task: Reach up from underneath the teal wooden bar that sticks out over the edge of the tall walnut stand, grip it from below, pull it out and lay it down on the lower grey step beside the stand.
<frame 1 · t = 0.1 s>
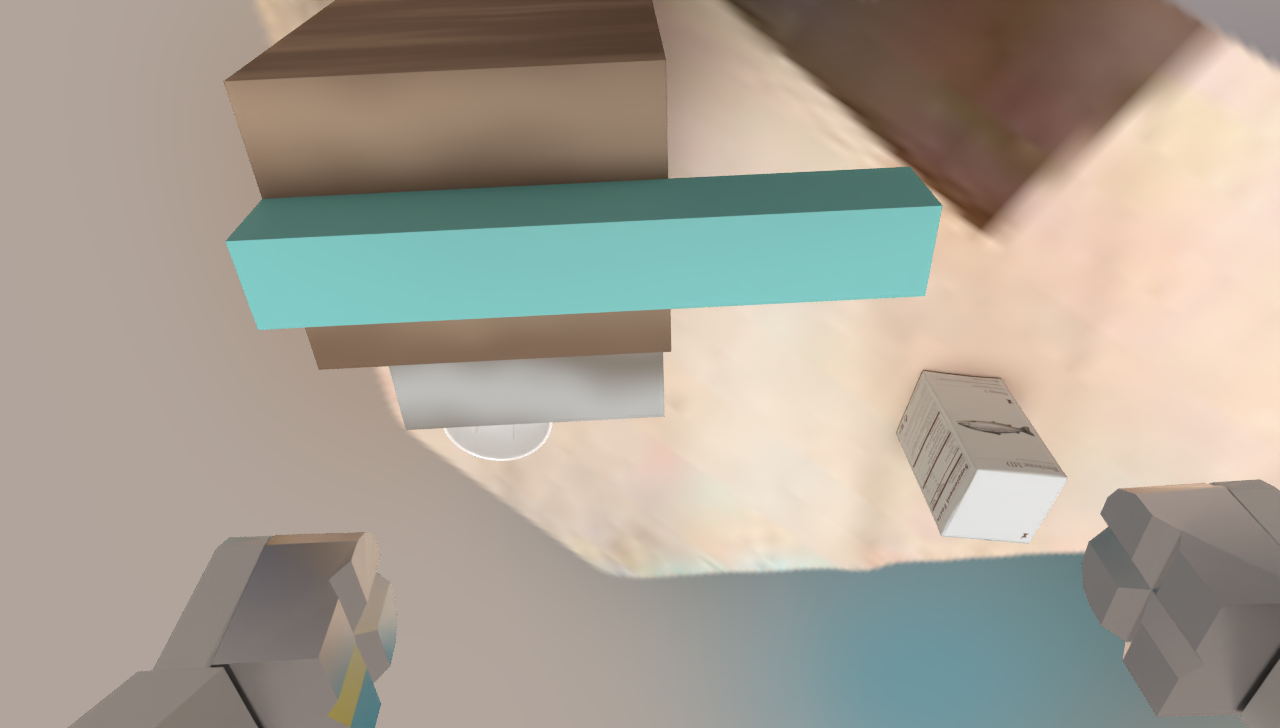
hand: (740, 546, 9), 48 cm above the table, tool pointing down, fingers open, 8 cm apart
supplement box: (945, 404, 70), on the table
teal bar: (590, 226, 31), point 26 cm above the table, touching stand
white cup: (510, 340, 65), on the table
stand: (527, 56, 52), on the table
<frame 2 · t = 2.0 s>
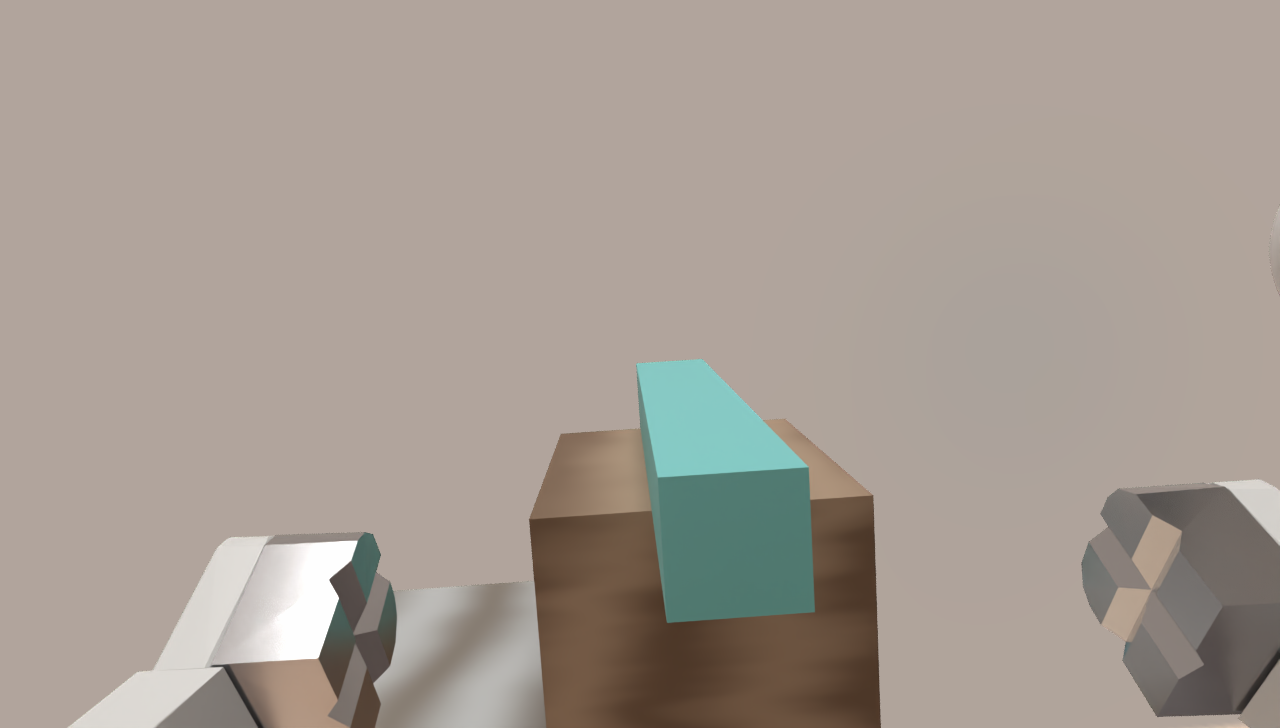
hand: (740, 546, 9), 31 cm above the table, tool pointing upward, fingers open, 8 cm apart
teal bar: (693, 484, 31), point 26 cm above the table, touching stand
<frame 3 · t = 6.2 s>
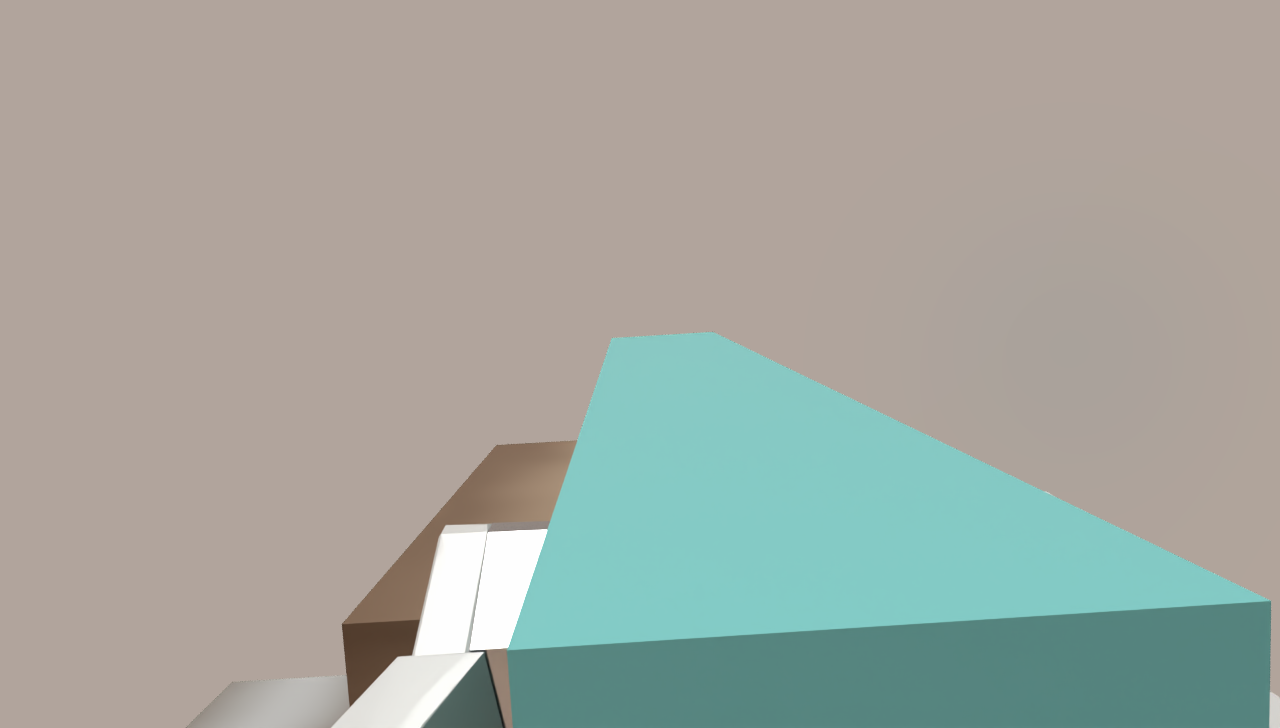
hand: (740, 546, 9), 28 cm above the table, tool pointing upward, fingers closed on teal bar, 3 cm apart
teal bar: (698, 543, 16), point 26 cm above the table, touching gripper, stand
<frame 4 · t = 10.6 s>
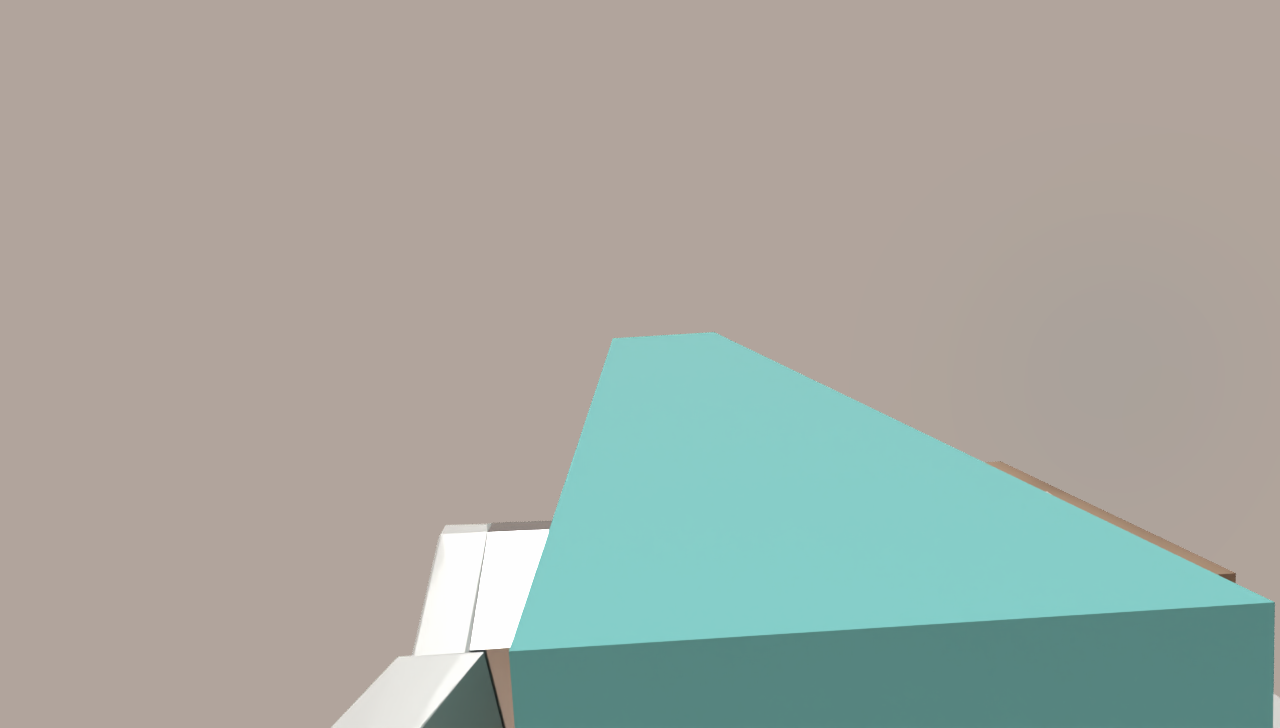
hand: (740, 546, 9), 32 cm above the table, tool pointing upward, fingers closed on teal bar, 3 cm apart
teal bar: (699, 543, 16), point 30 cm above the table, touching gripper
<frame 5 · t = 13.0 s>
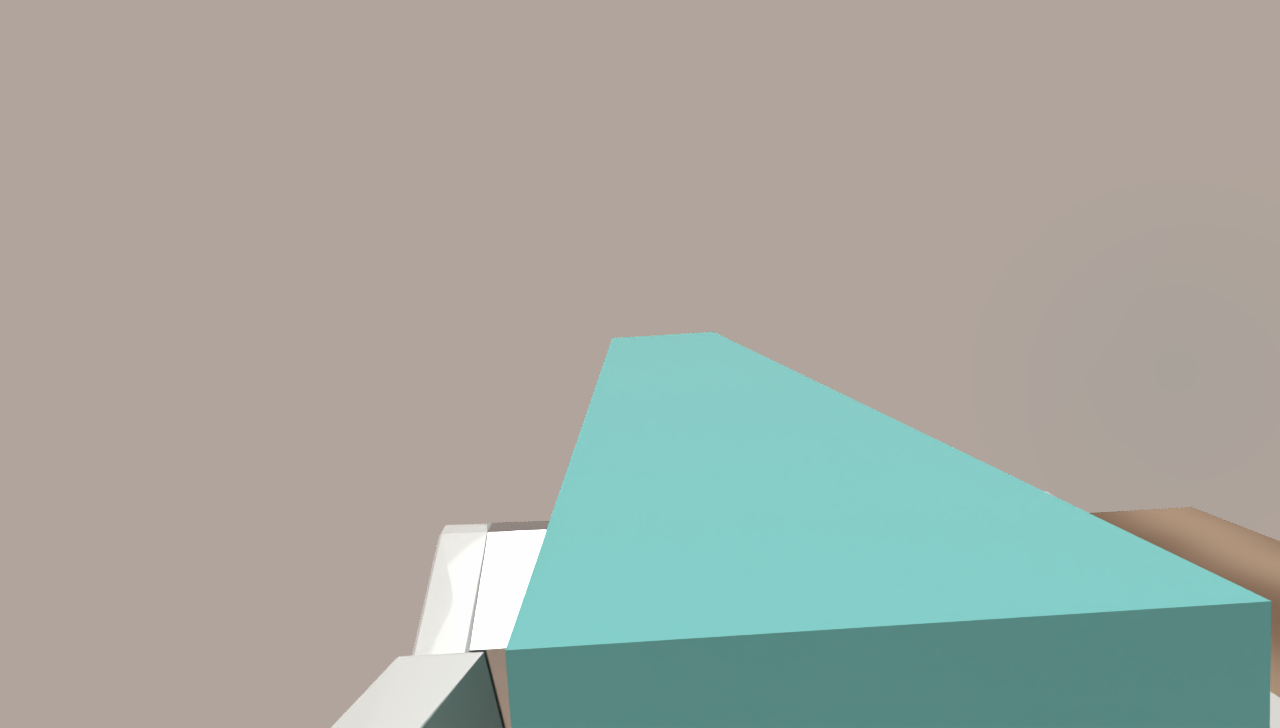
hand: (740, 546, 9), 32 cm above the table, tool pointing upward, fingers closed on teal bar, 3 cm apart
teal bar: (699, 543, 16), point 30 cm above the table, touching gripper
when the fingers open (22 cm above the table, at t = 14.9 s): teal bar drops 2 cm, resting on stand.
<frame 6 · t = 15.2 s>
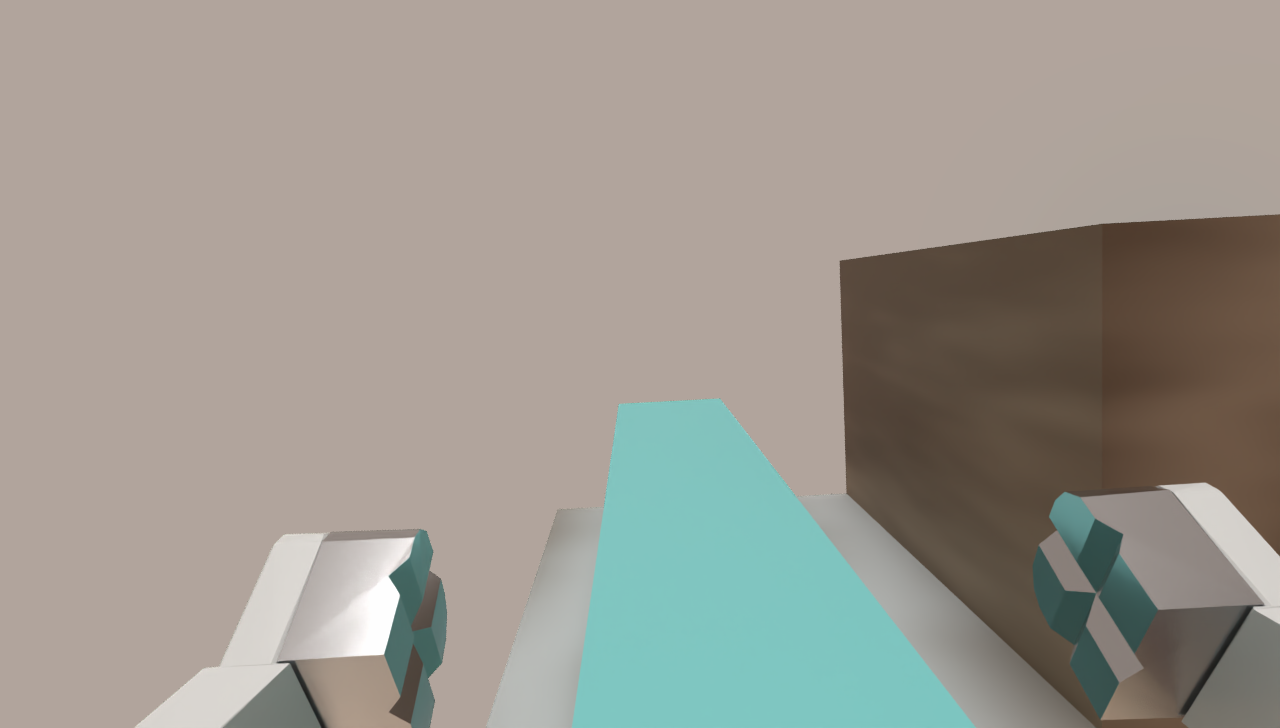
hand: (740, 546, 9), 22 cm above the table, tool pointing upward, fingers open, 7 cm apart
teal bar: (703, 657, 16), point 18 cm above the table, touching stand
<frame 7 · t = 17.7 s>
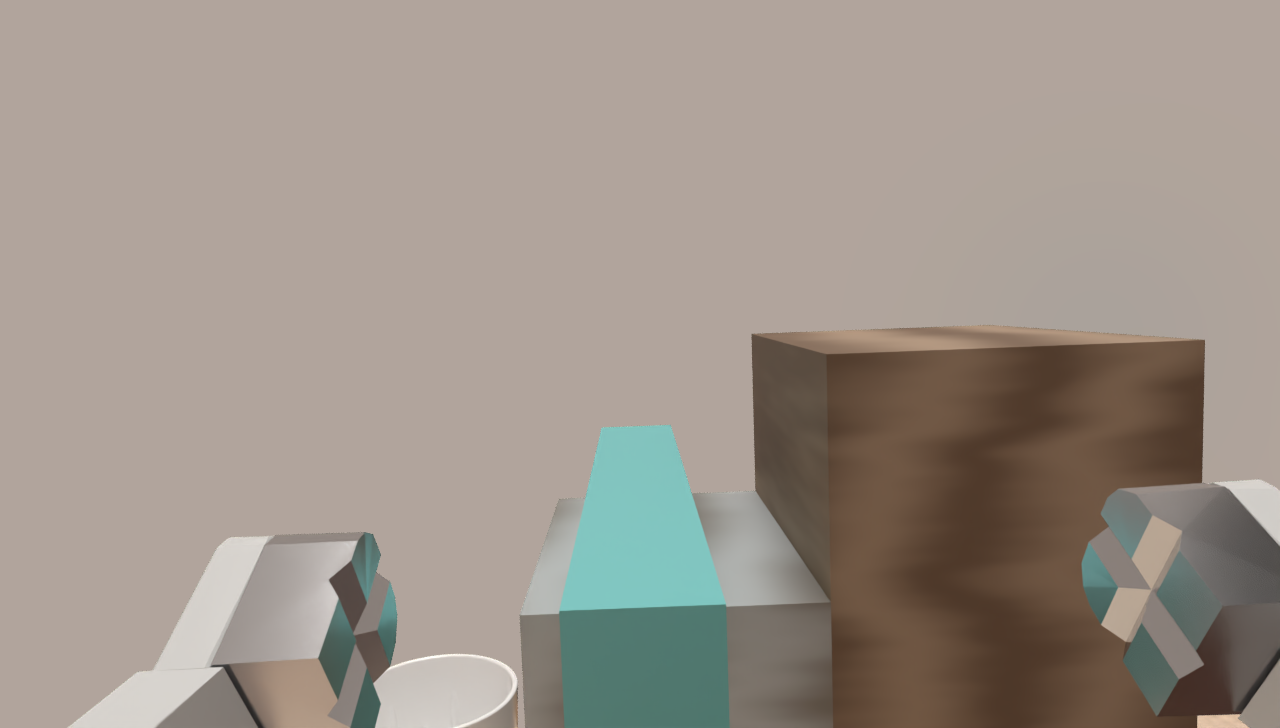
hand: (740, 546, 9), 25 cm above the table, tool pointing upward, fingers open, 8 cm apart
teal bar: (641, 574, 29), point 18 cm above the table, touching stand
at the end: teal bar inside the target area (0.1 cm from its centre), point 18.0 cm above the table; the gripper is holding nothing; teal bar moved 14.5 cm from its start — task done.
